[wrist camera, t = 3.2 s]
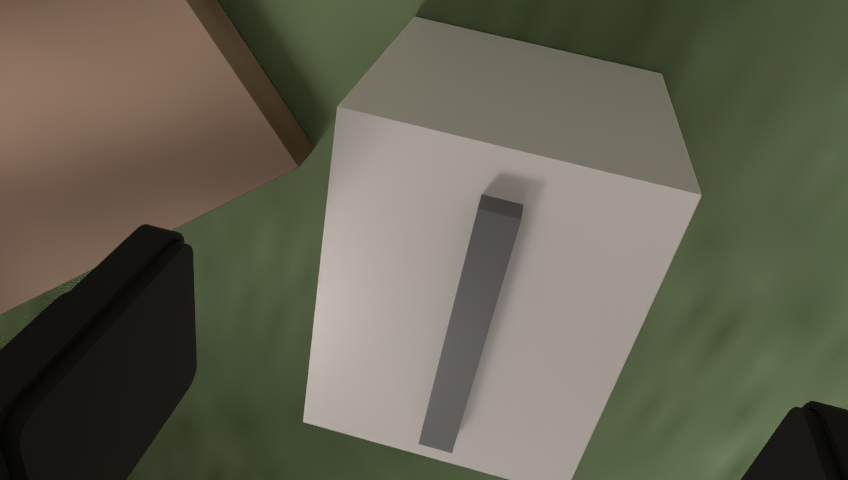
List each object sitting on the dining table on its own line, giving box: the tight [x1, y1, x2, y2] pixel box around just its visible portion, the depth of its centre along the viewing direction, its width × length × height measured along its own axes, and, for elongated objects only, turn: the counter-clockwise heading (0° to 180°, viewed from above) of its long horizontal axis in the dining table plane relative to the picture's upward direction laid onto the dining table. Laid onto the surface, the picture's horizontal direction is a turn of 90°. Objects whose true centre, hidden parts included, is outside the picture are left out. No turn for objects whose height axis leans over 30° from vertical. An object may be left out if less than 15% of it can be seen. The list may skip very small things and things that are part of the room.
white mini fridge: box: [303, 16, 702, 480], centre depth 15 cm, size 6×7×6 cm
